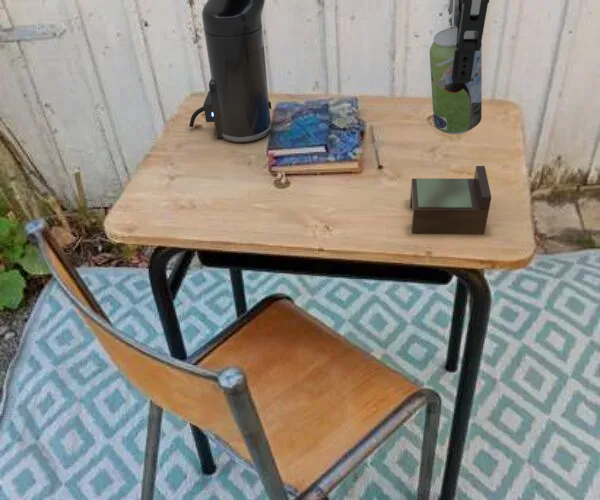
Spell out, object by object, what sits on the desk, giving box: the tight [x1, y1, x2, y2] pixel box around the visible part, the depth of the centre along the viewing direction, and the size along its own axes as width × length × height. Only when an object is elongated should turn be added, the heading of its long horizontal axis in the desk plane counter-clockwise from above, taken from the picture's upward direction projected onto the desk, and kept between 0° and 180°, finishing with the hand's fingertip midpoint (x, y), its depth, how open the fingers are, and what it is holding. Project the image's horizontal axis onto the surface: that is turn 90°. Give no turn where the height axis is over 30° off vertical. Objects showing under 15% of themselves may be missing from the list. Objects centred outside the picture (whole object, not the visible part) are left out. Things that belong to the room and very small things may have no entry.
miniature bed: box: [409, 165, 492, 235], centre depth 91 cm, size 10×8×6 cm
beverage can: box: [429, 26, 483, 136], centre depth 80 cm, size 6×7×12 cm
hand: (458, 69), depth 79 cm, fingers closed on beverage can, 6 cm apart
